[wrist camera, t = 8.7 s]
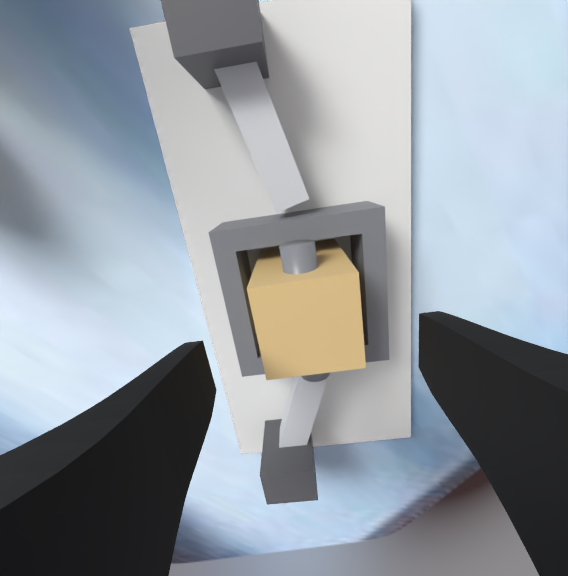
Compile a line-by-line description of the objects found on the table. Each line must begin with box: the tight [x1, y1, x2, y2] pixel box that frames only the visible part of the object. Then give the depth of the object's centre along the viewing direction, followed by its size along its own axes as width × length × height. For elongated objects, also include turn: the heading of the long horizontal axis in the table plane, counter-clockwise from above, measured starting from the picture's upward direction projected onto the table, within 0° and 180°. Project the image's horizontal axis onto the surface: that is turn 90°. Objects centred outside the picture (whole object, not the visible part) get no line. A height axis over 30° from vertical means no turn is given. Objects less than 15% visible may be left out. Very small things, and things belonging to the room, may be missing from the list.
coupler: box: [247, 239, 366, 382], centre depth 14 cm, size 6×4×6 cm, turn 9°
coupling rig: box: [130, 0, 411, 504], centre depth 16 cm, size 25×12×5 cm, turn 8°
